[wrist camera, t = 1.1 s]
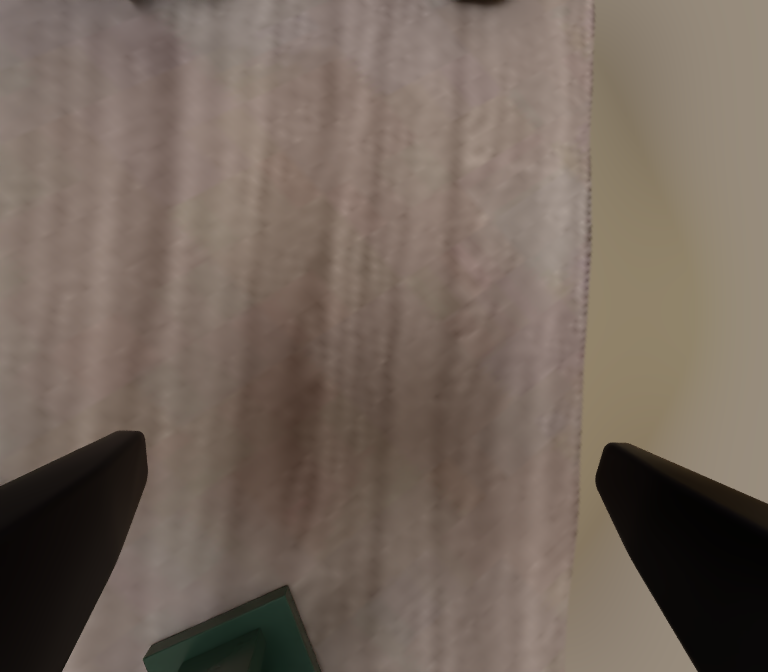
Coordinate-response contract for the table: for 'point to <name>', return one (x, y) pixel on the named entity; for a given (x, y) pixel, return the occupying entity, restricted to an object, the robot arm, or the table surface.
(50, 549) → the robot arm
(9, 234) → the table surface
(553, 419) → the table surface
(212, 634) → the bracket
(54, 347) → the table surface
